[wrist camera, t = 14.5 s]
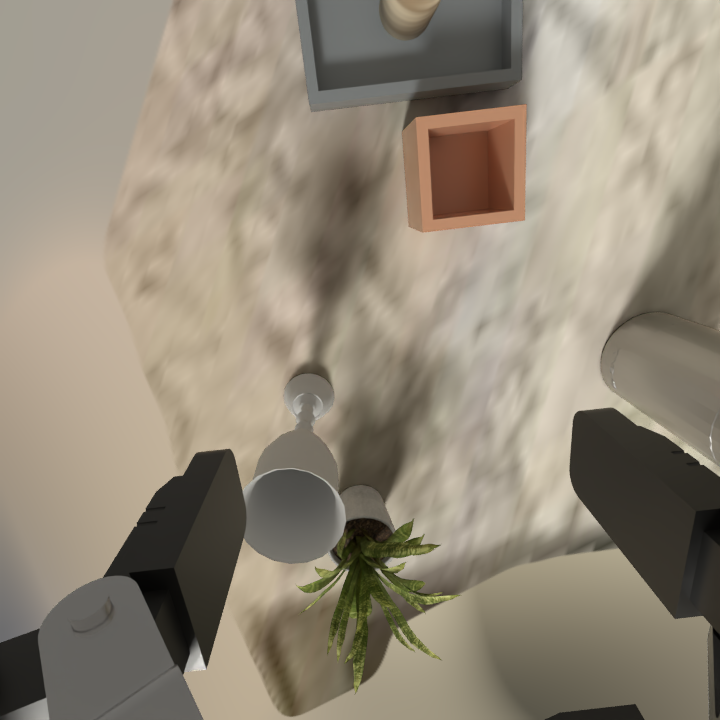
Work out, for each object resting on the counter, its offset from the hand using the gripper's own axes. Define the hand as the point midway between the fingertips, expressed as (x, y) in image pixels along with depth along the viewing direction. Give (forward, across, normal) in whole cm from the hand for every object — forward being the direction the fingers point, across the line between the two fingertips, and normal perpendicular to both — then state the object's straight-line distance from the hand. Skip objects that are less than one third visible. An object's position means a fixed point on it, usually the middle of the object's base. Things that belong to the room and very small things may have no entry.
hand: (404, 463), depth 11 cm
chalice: (+32, +6, +12) cm, 35 cm away
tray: (+32, -6, -19) cm, 37 cm away
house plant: (+32, +2, +27) cm, 42 cm away
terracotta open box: (+32, -9, -7) cm, 34 cm away
